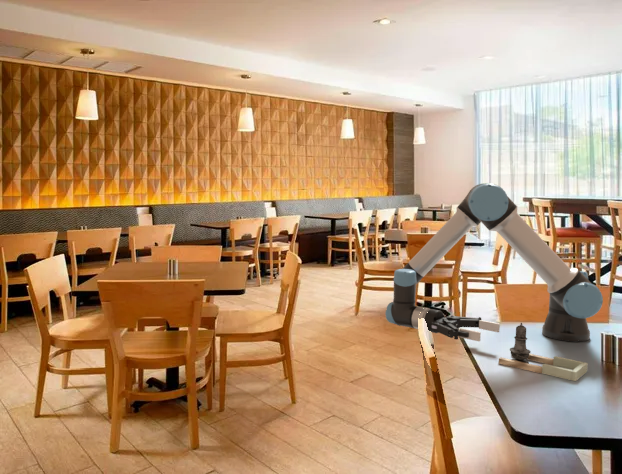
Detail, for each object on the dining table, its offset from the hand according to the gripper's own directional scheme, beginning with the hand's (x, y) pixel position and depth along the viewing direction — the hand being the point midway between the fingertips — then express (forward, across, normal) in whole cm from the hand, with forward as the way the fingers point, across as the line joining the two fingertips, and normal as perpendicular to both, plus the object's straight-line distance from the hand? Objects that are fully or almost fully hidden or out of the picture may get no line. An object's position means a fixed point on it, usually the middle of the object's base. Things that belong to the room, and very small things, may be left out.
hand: (489, 332), depth 169 cm
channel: (+12, 0, -7) cm, 14 cm away
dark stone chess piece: (+10, 0, -7) cm, 12 cm away
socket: (+22, 0, -7) cm, 23 cm away
